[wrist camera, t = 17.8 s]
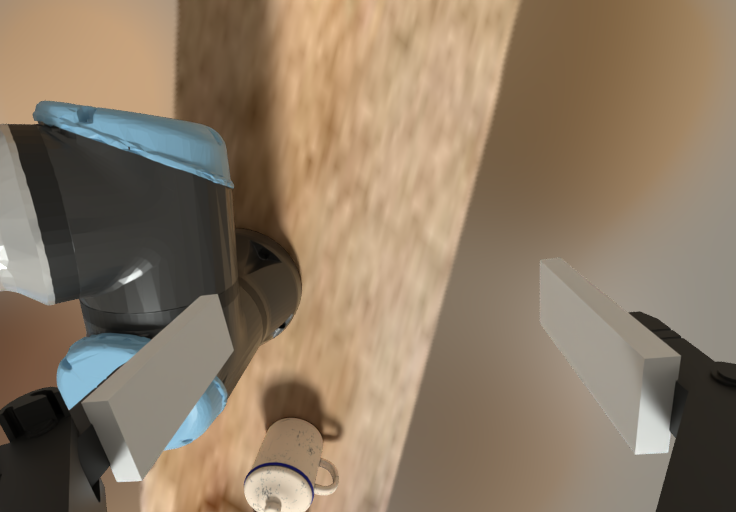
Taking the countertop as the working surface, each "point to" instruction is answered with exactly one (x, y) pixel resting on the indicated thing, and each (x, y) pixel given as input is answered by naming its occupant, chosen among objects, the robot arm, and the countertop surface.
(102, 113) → the robot arm
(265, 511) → the teacup with lid
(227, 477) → the countertop surface
